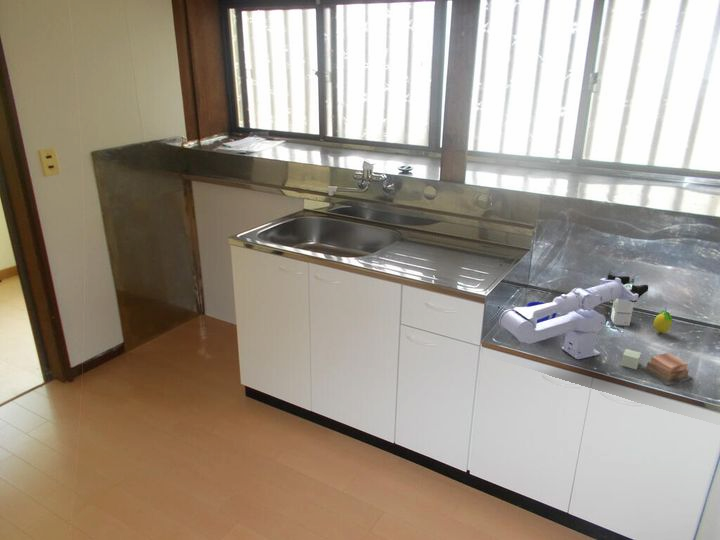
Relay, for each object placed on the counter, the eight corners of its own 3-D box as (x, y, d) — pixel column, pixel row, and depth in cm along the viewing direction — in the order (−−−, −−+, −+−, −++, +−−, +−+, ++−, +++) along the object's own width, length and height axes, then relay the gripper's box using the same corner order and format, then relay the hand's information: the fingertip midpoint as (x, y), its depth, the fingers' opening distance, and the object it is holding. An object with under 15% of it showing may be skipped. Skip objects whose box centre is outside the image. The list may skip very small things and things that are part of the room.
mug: (561, 332, 197) (565, 307, 193) (533, 339, 193) (536, 313, 189) (545, 323, 204) (549, 298, 200) (518, 328, 200) (521, 303, 196)
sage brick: (636, 369, 175) (638, 358, 173) (620, 365, 177) (623, 354, 176) (638, 363, 178) (641, 352, 177) (623, 359, 181) (625, 348, 179)
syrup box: (630, 326, 202) (637, 290, 196) (612, 324, 203) (619, 288, 197) (626, 319, 207) (633, 283, 202) (609, 317, 208) (616, 282, 203)
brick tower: (667, 385, 166) (671, 371, 164) (640, 369, 175) (644, 355, 173) (691, 379, 170) (695, 365, 168) (664, 363, 178) (667, 349, 176)
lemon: (668, 339, 193) (674, 313, 189) (649, 334, 196) (655, 309, 192) (671, 332, 198) (677, 306, 194) (653, 327, 201) (659, 302, 197)
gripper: (624, 290, 171) (657, 280, 176) (590, 273, 184) (622, 265, 188) (621, 310, 174) (654, 300, 178) (588, 292, 187) (620, 283, 191)
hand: (637, 283), depth 183 cm, fingers open, 7 cm apart
